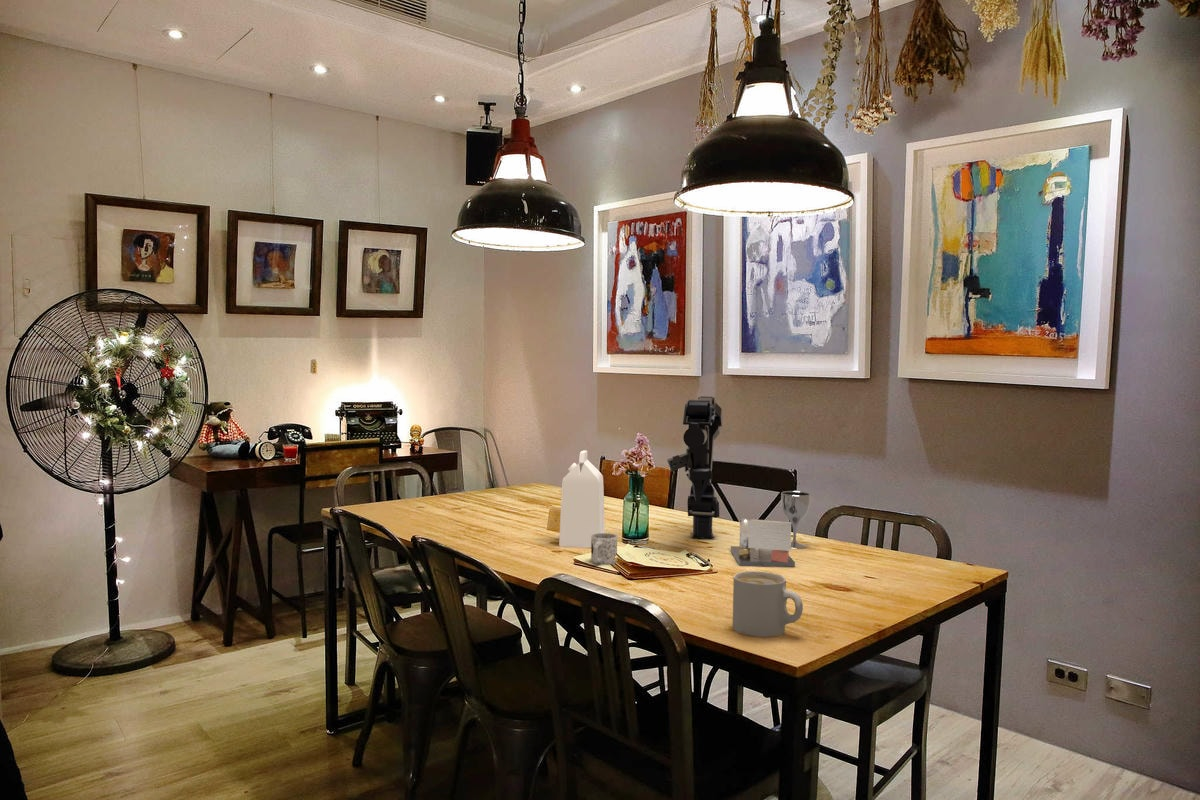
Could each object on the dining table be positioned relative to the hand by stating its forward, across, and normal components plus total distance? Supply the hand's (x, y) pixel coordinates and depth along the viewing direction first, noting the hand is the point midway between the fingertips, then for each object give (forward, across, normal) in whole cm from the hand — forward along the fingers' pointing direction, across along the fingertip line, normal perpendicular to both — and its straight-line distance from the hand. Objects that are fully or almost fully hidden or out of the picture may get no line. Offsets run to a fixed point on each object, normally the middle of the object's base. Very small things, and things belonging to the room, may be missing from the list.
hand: (697, 500), depth 228 cm
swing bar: (+9, +17, +16) cm, 25 cm away
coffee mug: (+13, +71, +7) cm, 73 cm away
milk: (+13, -3, -32) cm, 35 cm away
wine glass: (+13, -4, +28) cm, 31 cm away
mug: (+13, +20, -26) cm, 35 cm away
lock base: (+13, +12, +16) cm, 24 cm away
